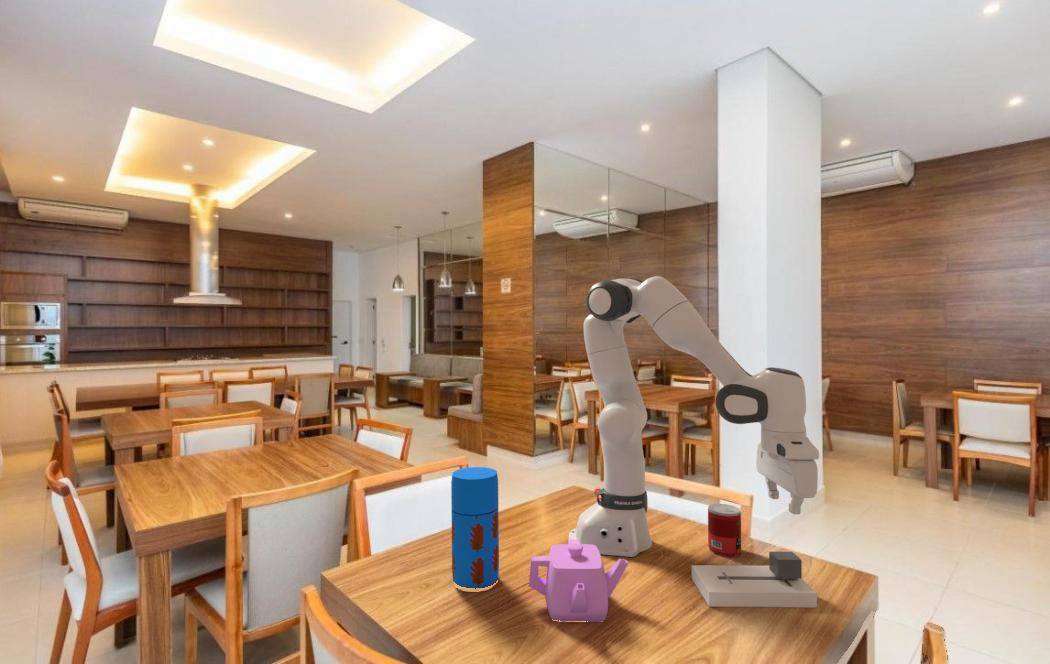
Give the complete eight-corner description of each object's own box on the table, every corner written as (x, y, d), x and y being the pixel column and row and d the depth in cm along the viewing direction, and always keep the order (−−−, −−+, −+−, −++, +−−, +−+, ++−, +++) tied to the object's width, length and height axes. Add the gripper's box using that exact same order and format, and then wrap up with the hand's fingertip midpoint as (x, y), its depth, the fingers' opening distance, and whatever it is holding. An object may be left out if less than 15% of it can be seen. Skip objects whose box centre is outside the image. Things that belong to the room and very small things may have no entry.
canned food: (744, 558, 125) (743, 514, 125) (710, 555, 127) (710, 512, 127) (737, 545, 133) (737, 504, 133) (706, 543, 134) (705, 502, 134)
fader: (778, 581, 107) (777, 559, 107) (769, 572, 111) (769, 551, 111) (801, 581, 106) (801, 559, 106) (792, 572, 110) (792, 551, 110)
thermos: (507, 575, 117) (506, 469, 117) (484, 597, 108) (483, 481, 108) (467, 566, 122) (466, 464, 122) (442, 587, 112) (441, 476, 112)
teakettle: (571, 577, 116) (571, 524, 116) (633, 605, 104) (632, 546, 104) (519, 605, 105) (518, 546, 105) (581, 640, 92) (581, 573, 92)
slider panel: (709, 606, 103) (708, 591, 103) (691, 578, 115) (691, 564, 115) (817, 607, 102) (816, 592, 102) (788, 578, 114) (788, 565, 114)
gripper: (749, 432, 119) (749, 490, 119) (791, 453, 99) (792, 522, 99) (775, 432, 119) (775, 490, 119) (824, 453, 99) (824, 523, 99)
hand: (783, 505), depth 109 cm, fingers open, 8 cm apart
